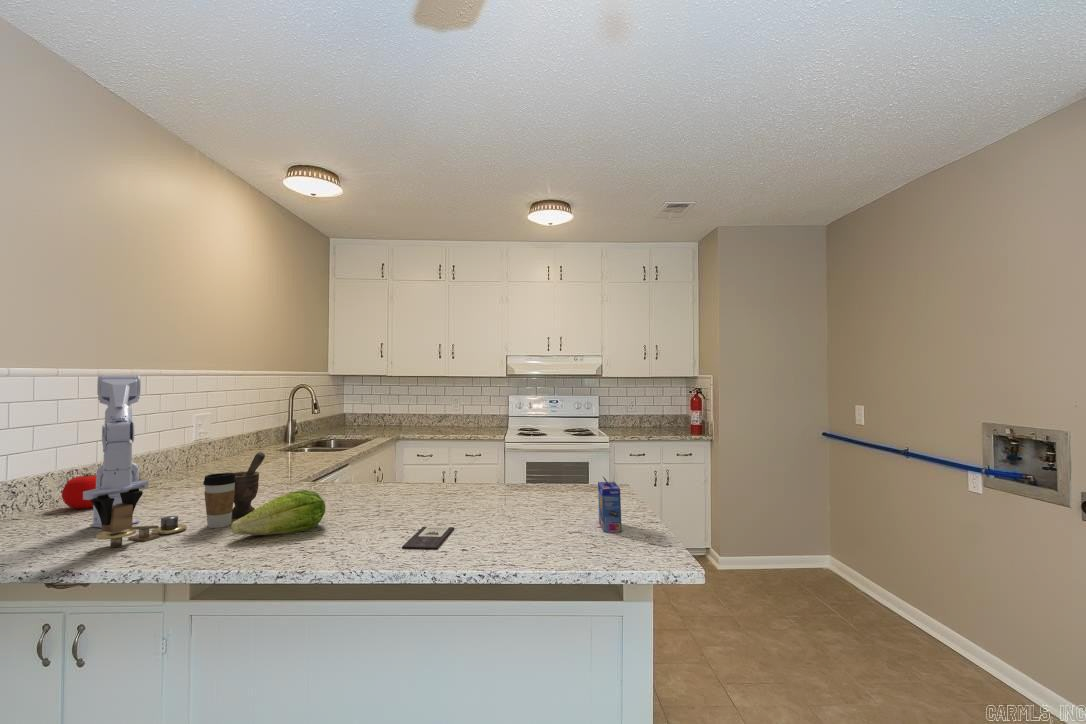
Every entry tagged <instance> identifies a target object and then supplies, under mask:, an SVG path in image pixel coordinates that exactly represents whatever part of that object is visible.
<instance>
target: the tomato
mask: <svg viewBox="0 0 1086 724" xmlns="http://www.w3.org/2000/svg"><path fill="white" fill-rule="evenodd" d="M96 475H97V474H89V473H86V474H83V475H79V476H76V477H75V476H74V477H72V478H70V479H69V480H68V481H67V483H66V484H65V485H64V487H63V489H62V491H61V498H62V501H63V502H64V504H65V505H67V506H68V507H70V508H73V509H80V510H81V509H91V508H92V509H93V503H92V502H91V500H84V499H83V492H84V491H89V490H93V489H96ZM101 476H102V475H101Z"/></svg>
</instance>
